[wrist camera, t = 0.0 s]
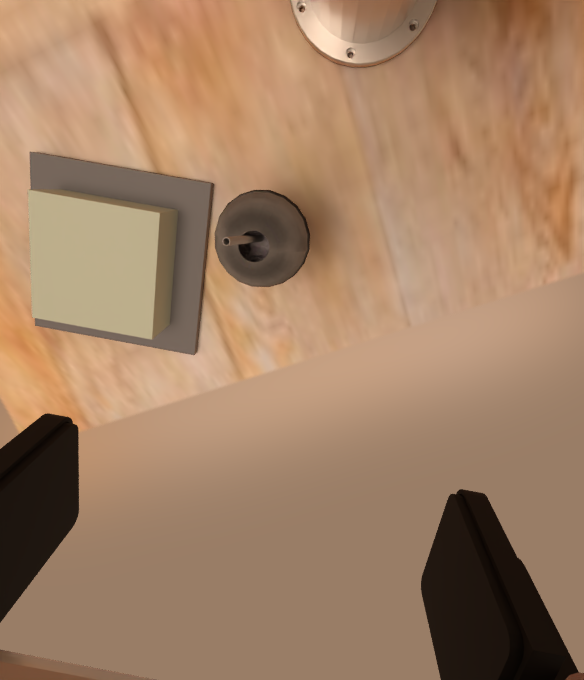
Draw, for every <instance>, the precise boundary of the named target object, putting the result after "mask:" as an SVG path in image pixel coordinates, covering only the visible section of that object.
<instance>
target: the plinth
mask: <svg viewBox="0 0 584 680" xmlns="http://www.w3.org/2000/svg"><path fill="white" fill-rule="evenodd" d="M30 179H31V190H28V212H29V241H30V270H31V299H32V317H33V318H35V326H40V327H45V328H51V329H56V330H61V331H67V332H72V333H78V334H83V335H88V336H94V337H99V338H105V339H110V340H115V341H121V342H126V343H132V344H137V345H142V346H148V347H153V348H159V349H164V350H169V351H175V352H180V353H186V354H191V355H195V354H196V352H197V346H198V336H199V326H200V316H201V306H202V296H203V285H204V275H205V265H206V255H207V245H208V235H209V225H210V215H211V204H212V194H213V183H208V182H202V181H196V180H190V179H185V178H179V177H173V176H168V175H162V174H156V173H151V172H145V171H139V170H133V169H128V168H122V167H116V166H111V165H105V164H99V163H94V162H88V161H82V160H76V159H71V158H65V157H59V156H54V155H48V154H42V153H37V152H30Z"/></svg>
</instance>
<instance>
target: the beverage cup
mask: <svg viewBox="0 0 584 680" xmlns="http://www.w3.org/2000/svg"><path fill="white" fill-rule="evenodd" d="M309 242H310V233H309V229H308V226H307V222H306V219H305V217H304V216H303V214H302V213H301V211H300V209H299V208H298V206H297V205H296V204H294V203H293V202H292V201H291V200H289V199H288V198H287V197H286V196H284V195H281V194H279V193H276V192H273V191H271V190H253V191H250V192H247V193H243V194H240V195H239V196H238V197H236V198H235V199H234V200H232V201H231V202H230V203H228V205H227V206H226V208H225V209H224V210H223V212H222V213H221V215H220V217H219V220H218V224H217V227H216V231H215V249H216V252H217V255H218V258H219V261H220V262H221V264H222V265H223V267H224V268H225V269H226V271H227V272H228V273H229V274H230V275H231V276H233V277H234V278H235V279H237V280H238V281H239V282H242V283H245V284H247V285H250V286H256V287H270V286H274V285H278V284H281V283H284V282H285V281H287V280H288V279H290V278H291V277H293V276H294V275H295V274H296V273H297V272H298V271H299V269H300V268H301V267H302V265H303V264H304V262H305V260H306V257H307V254H308V251H309Z"/></svg>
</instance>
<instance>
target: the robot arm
mask: <svg viewBox="0 0 584 680" xmlns="http://www.w3.org/2000/svg"><path fill="white" fill-rule="evenodd" d="M436 2H437V0H290V3H291V7H292V11H293V14H294V17H295V20H296V22H297V25H298V27H299V29H300V30H301V32H302V34H303V35H304V37H305V39H306V40H307V41H308V42H309V43H310V45H311V46H312V47H313V48H314V49H315V50H316V51H317V52H319V53H320V54H321V55H323V56H324V57H325V58H327V59H329V60H331V61H333V62H335V63H338V64H341V65H345V66H350V67H367V66H372V65H377V64H380V63H383V62H385V61H387V60H389V59H392V58H393V57H395V56H396V55H398V54H399V53H401V52H402V51H404V50H405V49H406V48H407V47H408V46H409V45H410V44H411V43H412V42H413V41H414V40H415V39H416V38H417V37H418V35H419V34H420V32H421V31H422V30H423V28H424V27H425V25H426V24H427V22H428V20H429V18H430V16H431V15H432V12H433V10H434V7H435V5H436ZM301 7H304V8H305V11H304V12H302V13H301V12H300V11H299V9H300V8H301ZM411 25H413V26H414V27H415V30H414V31H411V30H410V29H409V26H411ZM349 53H352V54H353V57H352V58H351V59H350V58H348V57H347V55H348V54H349ZM78 466H79V464H78V427H77V425H75V424H73V422H72V419H71V418H69V417H65V416H59V415H54V414H44V415H42V416H41V417H40V418H39V419H37V420H36V421H35V422H34V423H32V424H31V425H30V426H29V427H27V428H26V429H25V430H24V431H22V432H21V433H20V434H19V435H17V436H16V437H15V438H14V439H12V440H11V441H10V442H9V443H7V444H6V445H5V446H3V447H2V448H1V449H0V622H1V621H2V620H3V618H4V617H5V616H6V614H7V613H8V612H9V610H10V609H11V608H12V607H13V605H14V604H15V603H16V601H17V600H18V599H19V597H20V596H21V595H22V593H23V592H24V591H25V589H26V588H27V587H28V585H29V584H30V583H31V581H32V580H33V579H34V577H35V576H36V575H37V573H38V572H39V571H40V569H41V568H42V567H43V566H44V564H45V563H46V562H47V560H48V559H49V558H50V556H51V555H52V554H53V552H54V551H55V550H56V548H57V547H58V546H59V544H60V543H61V542H62V540H63V539H64V538H65V537H66V535H67V534H68V533H69V531H70V530H71V529H72V527H73V526H74V524H75V522H76V520H77V517H78V513H79V479H78V478H79V472H78V471H79V470H78V469H79V467H78ZM421 590H422V597H423V601H424V606H425V610H426V615H427V619H428V623H429V628H430V633H431V637H432V642H433V646H434V651H435V655H436V660H437V664H438V669H439V673H440V678H441V680H584V673H579V672H578V670H577V668H576V666H575V664H574V662H573V660H572V658H571V656H570V654H569V653H568V650H567V648H566V646H565V645H564V642H563V640H562V638H561V636H560V634H559V632H558V630H557V629H556V627H555V625H554V623H553V621H552V619H551V617H550V615H549V613H548V611H547V609H546V607H545V605H544V603H543V601H542V599H541V597H540V595H539V593H538V591H537V589H536V587H535V585H534V583H533V581H532V579H531V577H530V575H529V573H528V571H527V570H526V568H525V566H524V564H523V563H522V561H521V560H520V559H519V558H517V556H516V554H515V552H514V550H513V548H512V546H511V544H510V542H509V540H508V538H507V536H506V534H505V532H504V530H503V528H502V526H501V524H500V522H499V520H498V518H497V516H496V514H495V512H494V510H493V508H492V506H491V504H490V502H489V500H488V498H487V496H486V495H485V494H483V493H478V492H473V491H468V490H462V489H461V490H459V491H458V492H457V494H451V495H450V496H449V498H448V500H447V503H446V506H445V509H444V512H443V515H442V518H441V521H440V524H439V527H438V530H437V533H436V536H435V539H434V542H433V545H432V548H431V551H430V554H429V557H428V560H427V563H426V566H425V569H424V572H423V575H422V581H421ZM0 680H155V679H149V678H144V677H139V676H134V675H129V674H124V673H119V672H113V671H109V670H103V669H98V668H93V667H88V666H82V665H77V664H72V663H66V662H62V661H56V660H51V659H46V658H40V657H35V656H30V655H25V654H20V653H15V652H9V651H4V650H0Z"/></svg>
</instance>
